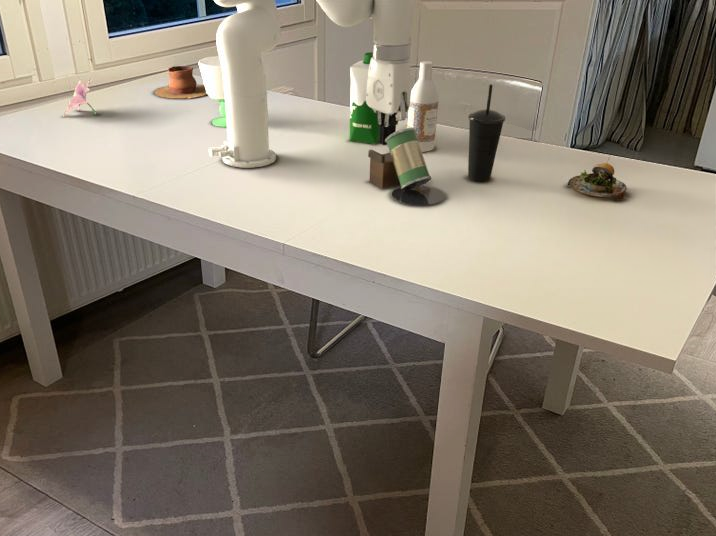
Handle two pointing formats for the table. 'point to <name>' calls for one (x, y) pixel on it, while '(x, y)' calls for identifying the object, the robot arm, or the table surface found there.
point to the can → (408, 159)
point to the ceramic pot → (181, 84)
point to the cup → (214, 84)
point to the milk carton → (362, 105)
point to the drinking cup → (483, 141)
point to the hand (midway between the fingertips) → (386, 143)
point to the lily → (79, 97)
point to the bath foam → (424, 108)
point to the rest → (382, 170)
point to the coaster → (418, 196)
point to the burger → (599, 182)
